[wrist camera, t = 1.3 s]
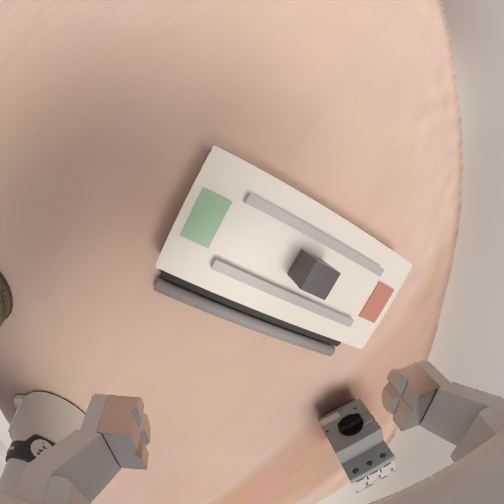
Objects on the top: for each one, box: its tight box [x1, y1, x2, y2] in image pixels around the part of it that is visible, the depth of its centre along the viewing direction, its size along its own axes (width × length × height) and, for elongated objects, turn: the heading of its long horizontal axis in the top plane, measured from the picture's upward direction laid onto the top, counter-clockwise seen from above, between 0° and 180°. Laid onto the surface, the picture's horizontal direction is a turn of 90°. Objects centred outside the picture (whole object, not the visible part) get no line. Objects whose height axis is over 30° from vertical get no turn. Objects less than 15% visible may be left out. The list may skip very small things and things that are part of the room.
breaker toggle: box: [287, 249, 341, 300], centre depth 29 cm, size 3×3×4 cm
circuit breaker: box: [318, 399, 396, 493], centre depth 39 cm, size 8×14×15 cm, turn 23°
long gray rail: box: [154, 270, 341, 356], centre depth 36 cm, size 3×26×2 cm, turn 61°
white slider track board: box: [155, 145, 413, 349], centre depth 33 cm, size 13×28×6 cm, turn 61°
